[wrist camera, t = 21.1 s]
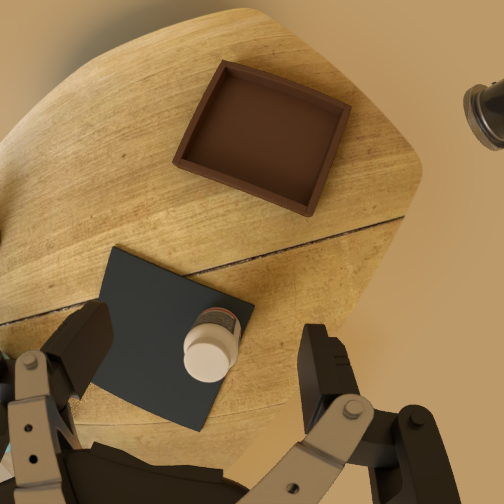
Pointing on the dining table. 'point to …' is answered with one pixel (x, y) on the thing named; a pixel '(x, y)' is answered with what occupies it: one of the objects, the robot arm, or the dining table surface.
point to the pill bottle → (212, 345)
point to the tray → (264, 136)
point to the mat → (157, 338)
